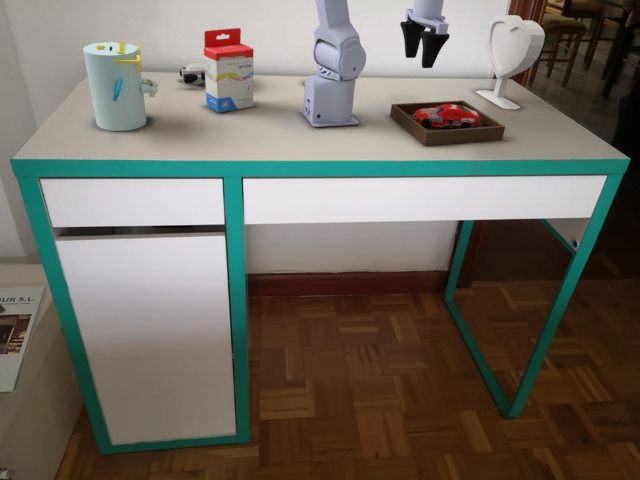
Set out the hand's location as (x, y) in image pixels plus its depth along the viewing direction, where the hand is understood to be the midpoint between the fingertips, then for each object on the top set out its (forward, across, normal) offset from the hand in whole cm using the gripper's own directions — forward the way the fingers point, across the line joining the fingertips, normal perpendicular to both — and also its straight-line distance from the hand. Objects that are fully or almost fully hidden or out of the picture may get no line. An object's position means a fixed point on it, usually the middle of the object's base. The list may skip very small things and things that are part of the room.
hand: (418, 62), depth 109 cm
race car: (+9, -13, -1) cm, 16 cm away
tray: (+9, -13, -1) cm, 16 cm away
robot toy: (+10, +20, +40) cm, 46 cm away
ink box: (+10, +5, +39) cm, 41 cm away
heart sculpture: (+10, +1, -24) cm, 25 cm away
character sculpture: (+10, -1, +59) cm, 60 cm away
